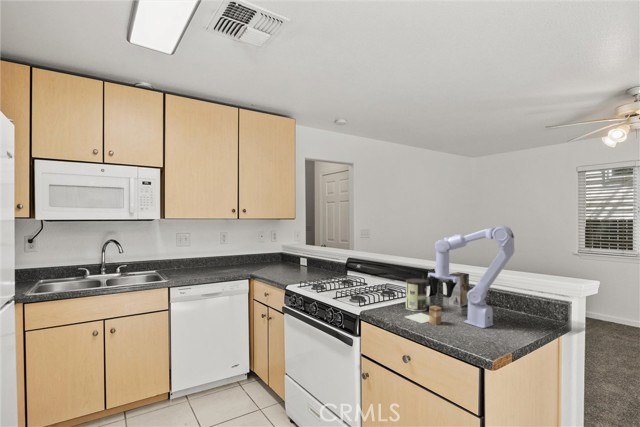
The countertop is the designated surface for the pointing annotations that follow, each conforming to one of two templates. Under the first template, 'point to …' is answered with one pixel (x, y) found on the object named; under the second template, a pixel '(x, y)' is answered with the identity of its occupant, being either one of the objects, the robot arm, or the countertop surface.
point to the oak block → (435, 315)
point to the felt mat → (419, 317)
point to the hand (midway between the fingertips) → (442, 295)
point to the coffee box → (460, 290)
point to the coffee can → (416, 294)
